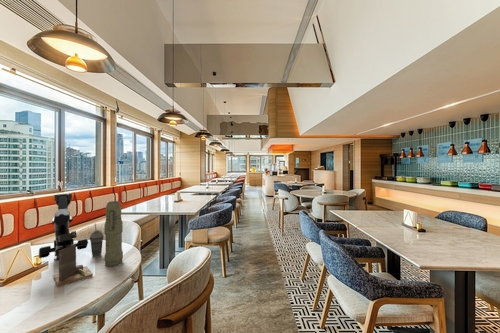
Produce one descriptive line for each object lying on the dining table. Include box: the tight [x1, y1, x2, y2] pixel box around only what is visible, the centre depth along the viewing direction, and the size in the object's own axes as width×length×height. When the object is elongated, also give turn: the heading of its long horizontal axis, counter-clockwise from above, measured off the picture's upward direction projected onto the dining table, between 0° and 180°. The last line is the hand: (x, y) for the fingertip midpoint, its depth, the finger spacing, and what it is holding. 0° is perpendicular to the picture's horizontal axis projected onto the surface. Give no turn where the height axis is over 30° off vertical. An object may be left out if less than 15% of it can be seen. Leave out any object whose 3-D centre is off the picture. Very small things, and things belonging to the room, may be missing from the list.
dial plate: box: [53, 266, 94, 288], centre depth 112 cm, size 13×14×2 cm
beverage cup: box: [89, 223, 105, 258], centre depth 140 cm, size 7×7×20 cm
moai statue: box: [103, 200, 124, 268], centre depth 129 cm, size 9×12×35 cm
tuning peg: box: [58, 244, 86, 281], centre depth 112 cm, size 9×13×14 cm
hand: (66, 263), depth 110 cm, fingers closed
